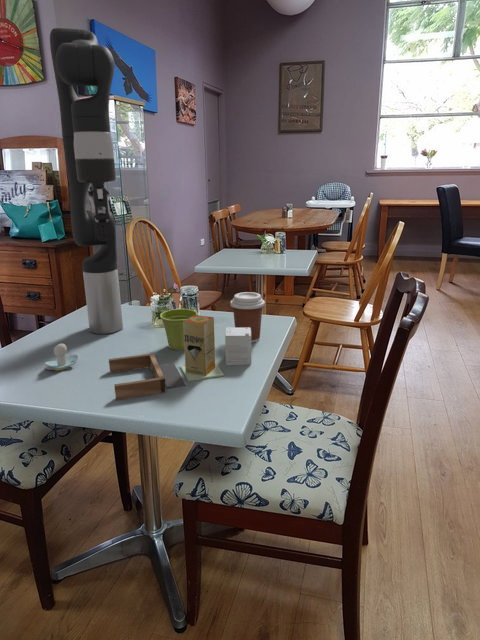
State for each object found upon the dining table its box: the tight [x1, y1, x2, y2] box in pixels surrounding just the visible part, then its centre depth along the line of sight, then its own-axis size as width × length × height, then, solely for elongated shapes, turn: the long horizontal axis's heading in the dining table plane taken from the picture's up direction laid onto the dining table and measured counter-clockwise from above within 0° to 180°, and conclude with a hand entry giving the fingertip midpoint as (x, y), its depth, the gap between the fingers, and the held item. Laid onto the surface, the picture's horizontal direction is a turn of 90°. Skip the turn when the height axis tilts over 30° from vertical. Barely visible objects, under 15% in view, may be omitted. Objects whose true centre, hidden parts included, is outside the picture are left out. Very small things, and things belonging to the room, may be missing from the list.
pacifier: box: [44, 343, 79, 372], centre depth 112 cm, size 7×6×6 cm
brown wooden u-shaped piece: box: [108, 352, 167, 401], centre depth 104 cm, size 15×10×3 cm, turn 19°
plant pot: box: [159, 308, 199, 351], centre depth 123 cm, size 9×9×9 cm
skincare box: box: [224, 326, 252, 366], centre depth 114 cm, size 6×6×7 cm
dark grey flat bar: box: [159, 363, 187, 390], centre depth 107 cm, size 12×4×1 cm, turn 19°
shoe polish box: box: [183, 314, 216, 376], centre depth 107 cm, size 5×5×12 cm
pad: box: [179, 362, 225, 382], centre depth 109 cm, size 8×8×1 cm
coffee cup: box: [229, 291, 266, 344], centre depth 127 cm, size 9×9×12 cm
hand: (102, 238), depth 102 cm, fingers open, 8 cm apart
